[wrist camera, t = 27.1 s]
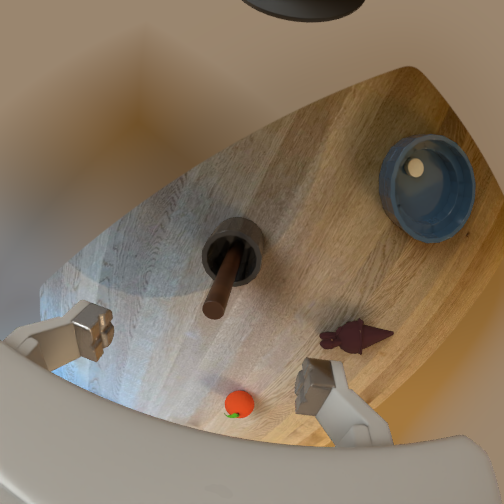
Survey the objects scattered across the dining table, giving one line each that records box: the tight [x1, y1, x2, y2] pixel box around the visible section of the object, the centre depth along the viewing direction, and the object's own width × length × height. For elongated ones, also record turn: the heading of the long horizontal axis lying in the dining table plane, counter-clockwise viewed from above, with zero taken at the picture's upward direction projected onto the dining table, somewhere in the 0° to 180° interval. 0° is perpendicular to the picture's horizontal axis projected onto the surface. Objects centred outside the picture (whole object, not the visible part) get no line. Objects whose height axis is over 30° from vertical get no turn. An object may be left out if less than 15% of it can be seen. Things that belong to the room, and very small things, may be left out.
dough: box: [404, 158, 424, 177], centre depth 39 cm, size 3×3×2 cm
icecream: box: [320, 318, 394, 355], centre depth 50 cm, size 7×7×15 cm
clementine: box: [224, 391, 254, 418], centre depth 59 cm, size 8×7×7 cm
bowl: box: [379, 134, 475, 243], centre depth 39 cm, size 18×18×6 cm
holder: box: [202, 217, 264, 287], centre depth 45 cm, size 9×9×8 cm
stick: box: [202, 241, 244, 320], centre depth 39 cm, size 2×2×20 cm
